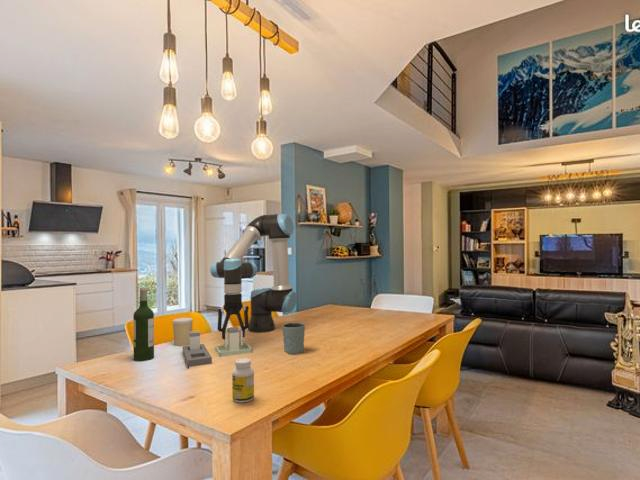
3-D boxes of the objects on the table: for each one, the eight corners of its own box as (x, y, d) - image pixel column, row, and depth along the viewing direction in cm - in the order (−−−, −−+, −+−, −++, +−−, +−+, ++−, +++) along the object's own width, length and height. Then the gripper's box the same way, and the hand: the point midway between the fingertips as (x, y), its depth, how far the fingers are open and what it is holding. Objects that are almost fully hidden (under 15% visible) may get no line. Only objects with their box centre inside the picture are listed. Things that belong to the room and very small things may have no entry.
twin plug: (198, 353, 164) (198, 330, 165) (200, 355, 161) (199, 332, 161) (189, 354, 163) (189, 331, 163) (190, 357, 159) (190, 333, 159)
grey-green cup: (302, 348, 170) (301, 321, 171) (308, 353, 161) (307, 326, 161) (280, 350, 167) (279, 323, 167) (285, 356, 158) (285, 327, 158)
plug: (237, 349, 167) (236, 327, 168) (239, 351, 164) (238, 328, 164) (228, 350, 166) (227, 328, 166) (229, 352, 162) (229, 329, 162)
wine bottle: (135, 357, 160) (134, 287, 161) (155, 355, 163) (154, 286, 164) (131, 362, 153) (131, 289, 154) (152, 360, 155) (152, 288, 156)
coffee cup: (196, 341, 186) (196, 317, 186) (187, 346, 176) (187, 321, 176) (178, 341, 186) (178, 317, 187) (168, 346, 177) (168, 321, 177)
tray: (246, 347, 173) (246, 342, 173) (252, 353, 162) (252, 348, 162) (215, 351, 167) (215, 346, 167) (219, 358, 156) (219, 352, 156)
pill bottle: (229, 397, 114) (229, 359, 115) (249, 393, 118) (249, 356, 118) (236, 405, 109) (236, 365, 109) (257, 400, 112) (256, 361, 113)
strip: (203, 350, 169) (203, 342, 169) (211, 365, 147) (211, 355, 147) (182, 353, 165) (182, 344, 165) (187, 368, 143) (187, 359, 144)
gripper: (251, 291, 173) (252, 341, 172) (209, 294, 165) (210, 346, 164) (256, 292, 166) (256, 345, 165) (212, 295, 158) (212, 350, 157)
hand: (233, 345), depth 165 cm, fingers open, 6 cm apart
